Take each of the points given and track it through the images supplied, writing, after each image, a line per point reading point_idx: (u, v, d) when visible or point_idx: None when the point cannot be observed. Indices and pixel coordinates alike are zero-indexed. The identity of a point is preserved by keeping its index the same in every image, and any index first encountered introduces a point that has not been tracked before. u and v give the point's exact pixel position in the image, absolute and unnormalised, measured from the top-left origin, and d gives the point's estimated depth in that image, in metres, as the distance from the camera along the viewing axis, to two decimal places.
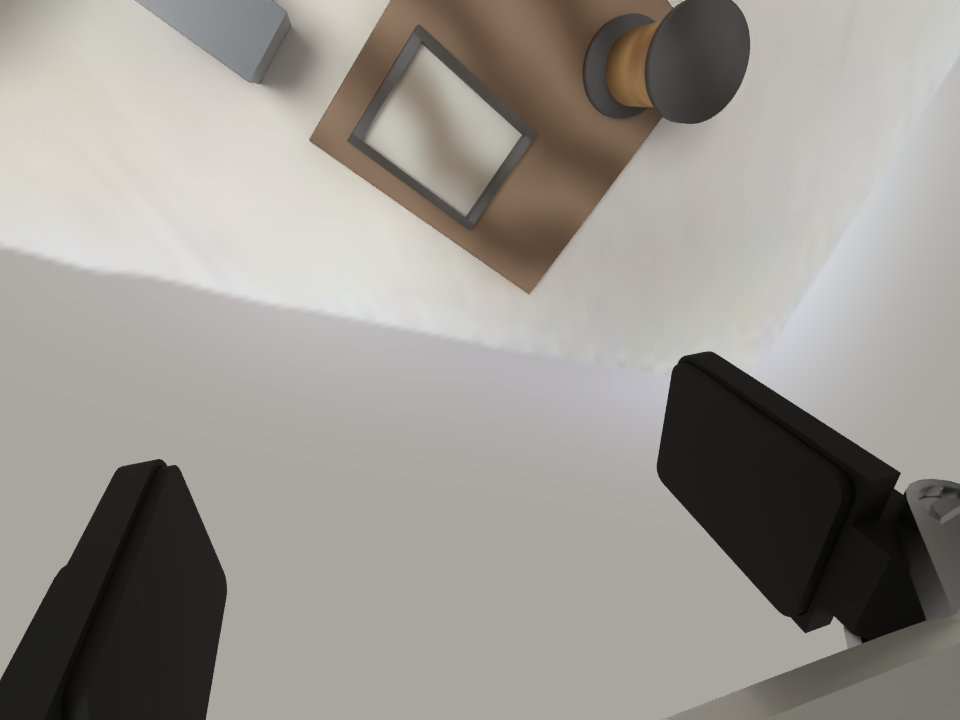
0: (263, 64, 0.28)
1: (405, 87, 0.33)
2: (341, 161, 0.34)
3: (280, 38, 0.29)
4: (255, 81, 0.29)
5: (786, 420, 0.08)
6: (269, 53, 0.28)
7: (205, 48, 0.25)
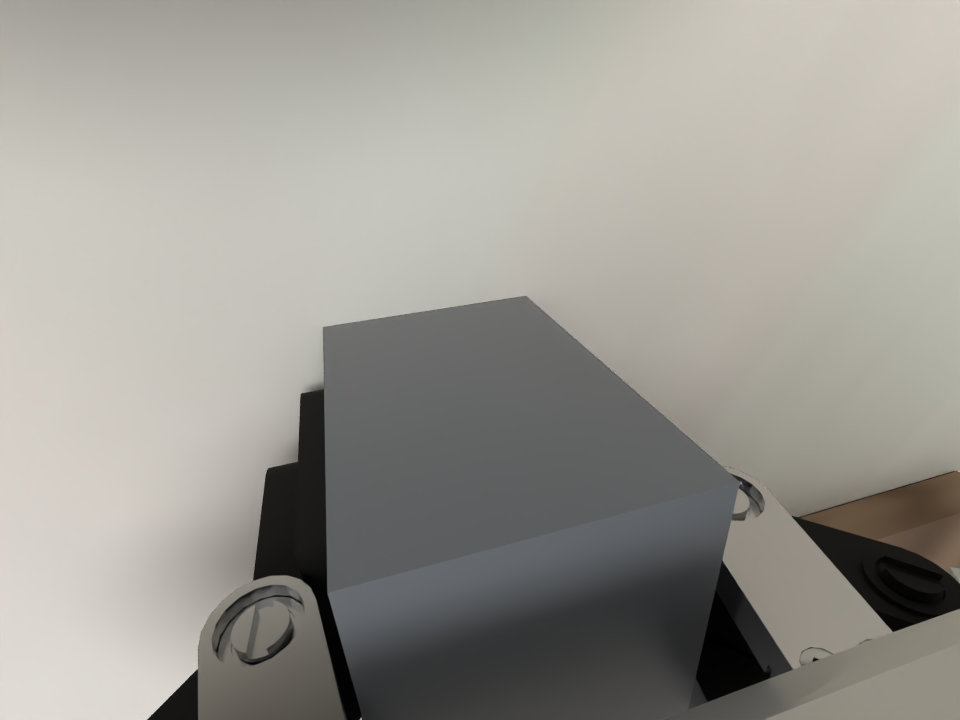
0: None
1: None
2: None
3: None
4: None
5: None
6: None
7: None
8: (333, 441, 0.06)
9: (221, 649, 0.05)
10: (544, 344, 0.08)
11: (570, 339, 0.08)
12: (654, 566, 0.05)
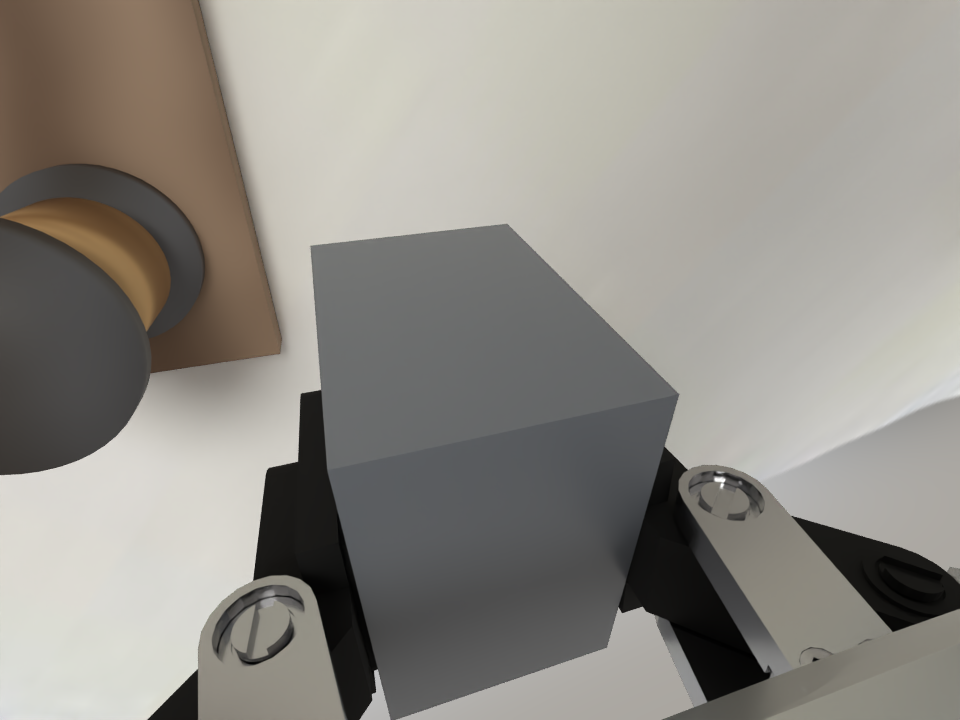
0: None
1: None
2: None
3: None
4: None
5: None
6: None
7: (381, 650, 0.07)
8: (326, 350, 0.07)
9: (221, 649, 0.05)
10: (521, 270, 0.09)
11: (546, 267, 0.09)
12: (602, 462, 0.06)
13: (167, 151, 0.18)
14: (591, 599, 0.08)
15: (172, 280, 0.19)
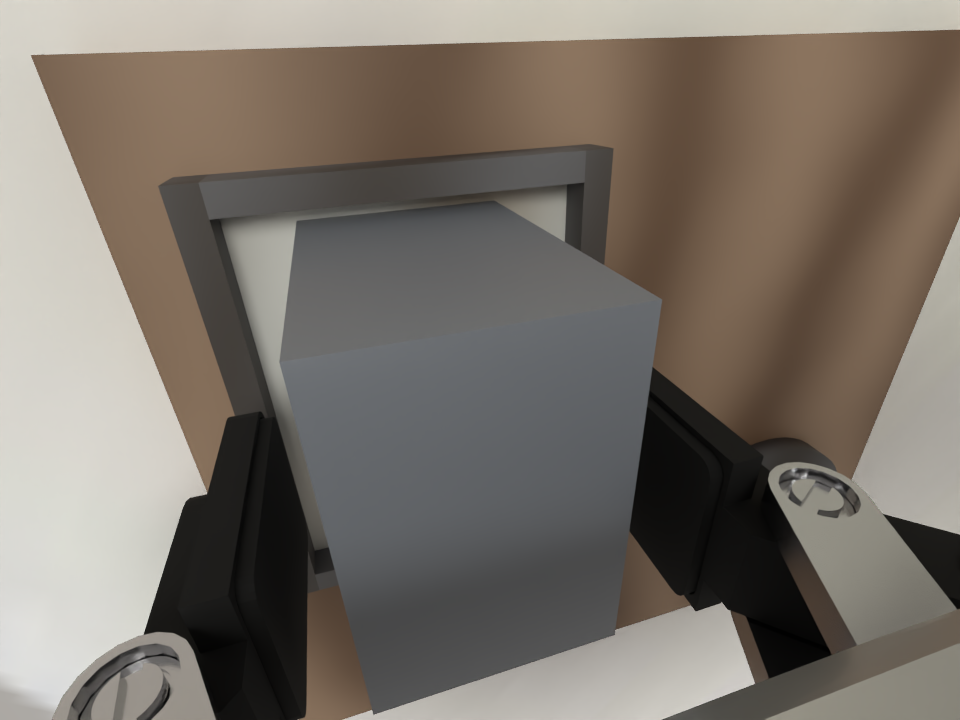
0: None
1: None
2: (97, 205, 0.09)
3: None
4: None
5: (674, 408, 0.08)
6: None
7: (355, 613, 0.06)
8: (297, 284, 0.06)
9: None
10: (505, 227, 0.09)
11: (530, 224, 0.09)
12: (585, 381, 0.06)
13: (838, 417, 0.18)
14: (590, 567, 0.07)
15: None
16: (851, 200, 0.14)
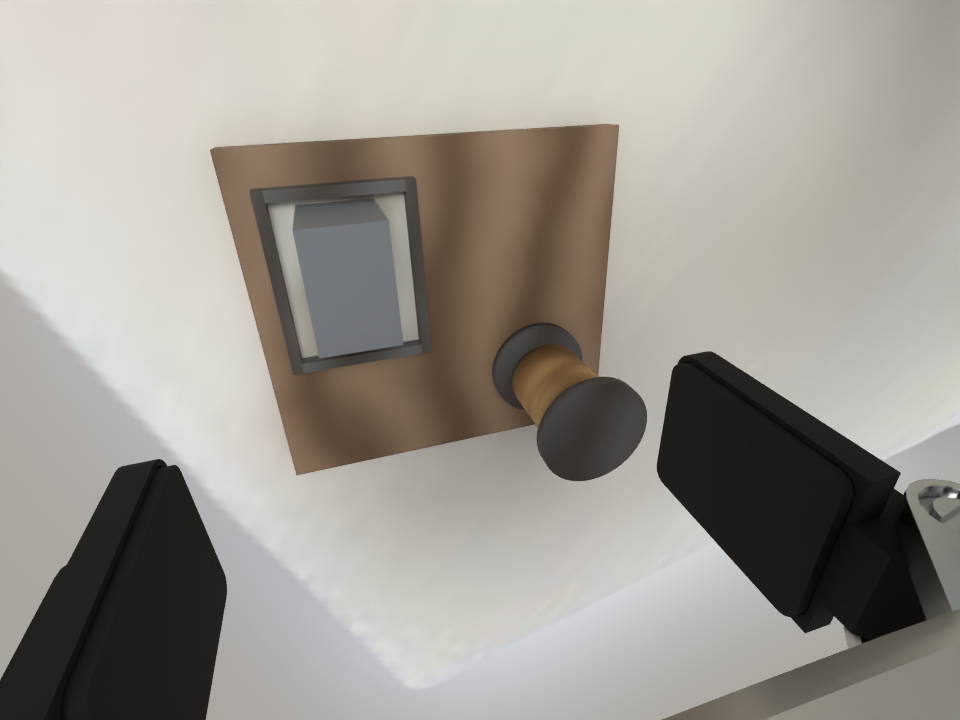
0: None
1: None
2: (224, 198, 0.25)
3: None
4: None
5: (786, 420, 0.08)
6: None
7: (312, 312, 0.23)
8: (295, 219, 0.23)
9: None
10: (367, 206, 0.25)
11: (376, 205, 0.25)
12: (371, 242, 0.22)
13: (577, 313, 0.34)
14: (387, 310, 0.24)
15: None
16: (546, 199, 0.30)
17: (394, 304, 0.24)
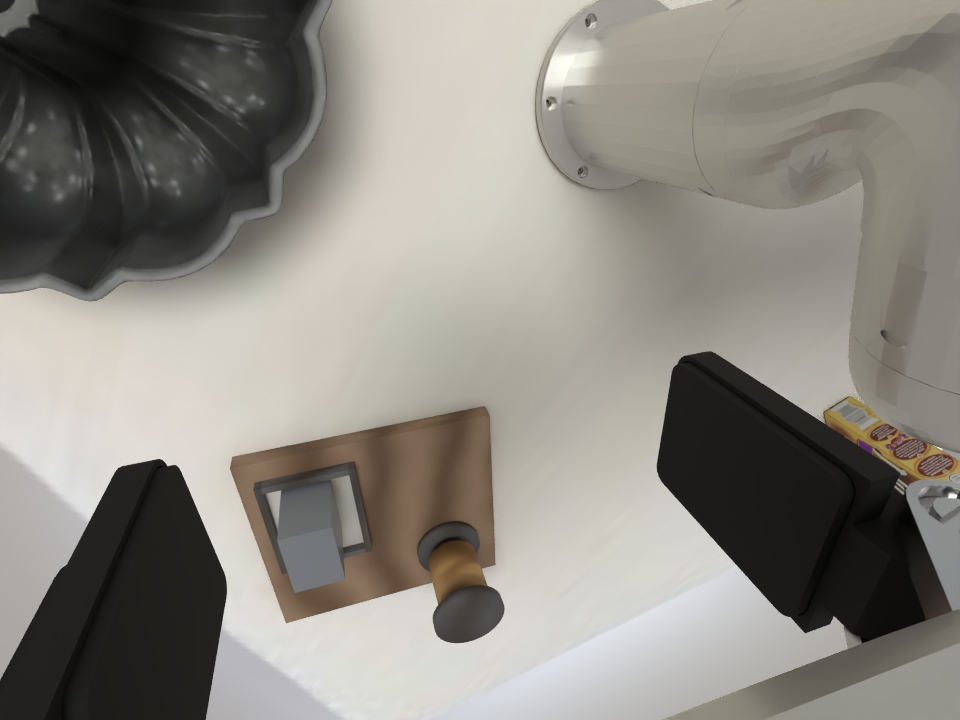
0: None
1: None
2: (238, 489, 0.42)
3: None
4: None
5: (786, 420, 0.08)
6: None
7: (289, 573, 0.39)
8: (280, 519, 0.39)
9: None
10: (323, 495, 0.41)
11: (329, 494, 0.42)
12: (322, 538, 0.39)
13: (474, 513, 0.51)
14: (334, 565, 0.40)
15: None
16: (444, 458, 0.46)
17: (338, 562, 0.40)
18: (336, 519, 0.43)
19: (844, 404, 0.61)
